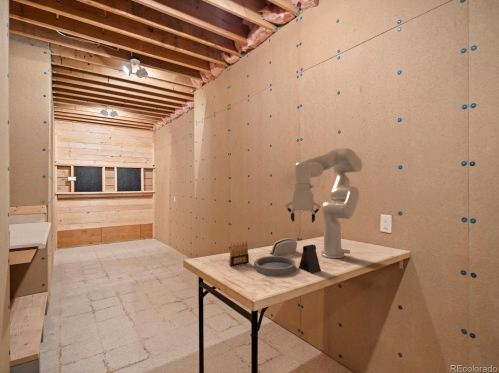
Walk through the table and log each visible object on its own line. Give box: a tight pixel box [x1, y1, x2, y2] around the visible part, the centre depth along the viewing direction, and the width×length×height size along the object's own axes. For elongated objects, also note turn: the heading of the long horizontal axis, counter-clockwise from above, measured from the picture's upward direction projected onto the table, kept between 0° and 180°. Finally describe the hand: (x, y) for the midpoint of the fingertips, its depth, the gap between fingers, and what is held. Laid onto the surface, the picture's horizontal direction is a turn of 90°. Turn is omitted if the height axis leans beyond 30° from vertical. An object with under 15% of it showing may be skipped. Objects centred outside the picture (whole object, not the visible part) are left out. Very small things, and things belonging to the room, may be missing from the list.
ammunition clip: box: [228, 240, 250, 268], centre depth 133 cm, size 11×2×12 cm, turn 119°
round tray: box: [253, 255, 296, 277], centre depth 127 cm, size 20×20×3 cm
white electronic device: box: [269, 237, 298, 256], centre depth 153 cm, size 17×5×10 cm, turn 120°
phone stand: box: [298, 243, 322, 274], centre depth 124 cm, size 9×6×12 cm, turn 31°
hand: (302, 221), depth 127 cm, fingers open, 9 cm apart
